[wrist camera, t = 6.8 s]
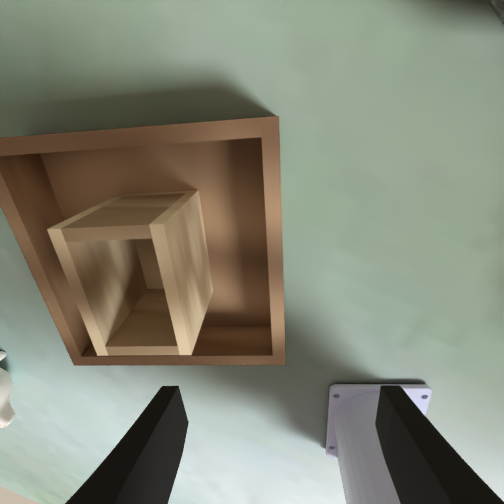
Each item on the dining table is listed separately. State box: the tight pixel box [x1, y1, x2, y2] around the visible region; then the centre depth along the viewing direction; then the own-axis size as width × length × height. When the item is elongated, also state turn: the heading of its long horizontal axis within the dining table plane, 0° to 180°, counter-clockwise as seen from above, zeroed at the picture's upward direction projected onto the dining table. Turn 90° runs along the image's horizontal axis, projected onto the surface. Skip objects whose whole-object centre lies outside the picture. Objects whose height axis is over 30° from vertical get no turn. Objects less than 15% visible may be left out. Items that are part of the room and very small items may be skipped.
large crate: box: [0, 116, 286, 365], centre depth 17 cm, size 15×15×4 cm
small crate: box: [47, 190, 213, 356], centre depth 16 cm, size 7×5×6 cm
